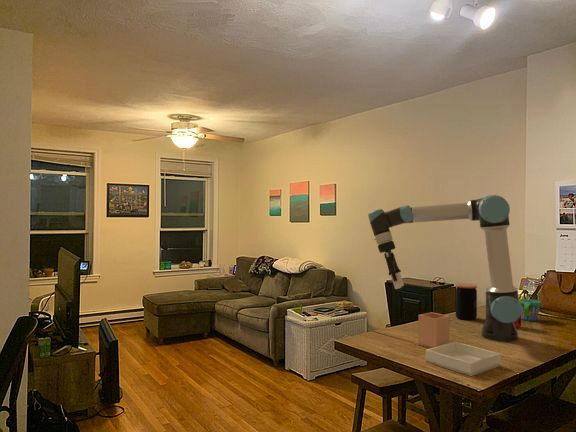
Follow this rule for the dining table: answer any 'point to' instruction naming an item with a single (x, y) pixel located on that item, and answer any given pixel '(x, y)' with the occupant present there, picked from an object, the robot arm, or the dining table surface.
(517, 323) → the canned food
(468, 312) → the coffee jar
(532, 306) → the snack cup
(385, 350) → the dining table surface
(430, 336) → the box
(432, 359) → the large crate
